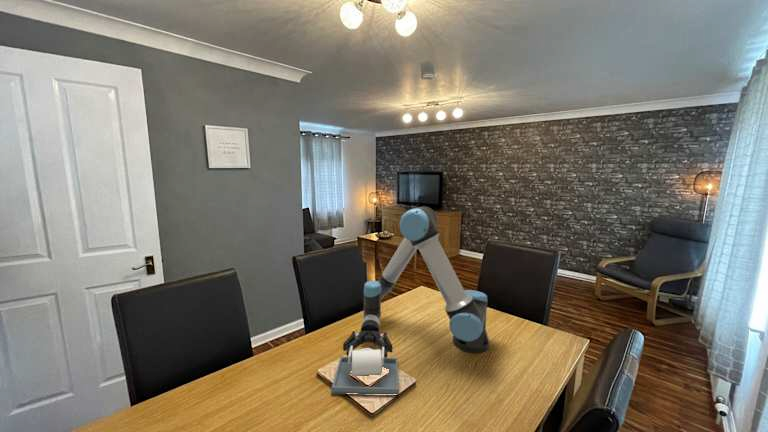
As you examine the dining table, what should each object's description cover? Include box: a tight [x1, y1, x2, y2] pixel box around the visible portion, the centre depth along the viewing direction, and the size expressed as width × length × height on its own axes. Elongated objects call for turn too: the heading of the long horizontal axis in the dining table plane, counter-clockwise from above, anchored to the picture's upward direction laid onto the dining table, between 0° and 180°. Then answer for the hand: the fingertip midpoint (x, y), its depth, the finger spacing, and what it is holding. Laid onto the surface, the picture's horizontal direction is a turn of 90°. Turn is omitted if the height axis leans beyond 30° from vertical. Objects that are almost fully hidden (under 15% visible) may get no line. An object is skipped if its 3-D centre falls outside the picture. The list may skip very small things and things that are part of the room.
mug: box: [352, 347, 382, 376], centre depth 106 cm, size 12×10×8 cm
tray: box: [331, 355, 400, 396], centre depth 107 cm, size 22×17×2 cm
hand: (365, 360), depth 102 cm, fingers closed on mug, 11 cm apart
